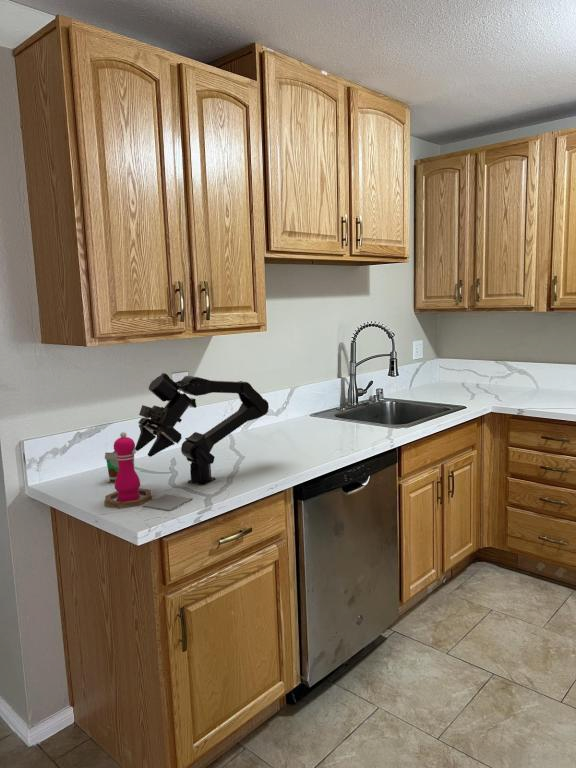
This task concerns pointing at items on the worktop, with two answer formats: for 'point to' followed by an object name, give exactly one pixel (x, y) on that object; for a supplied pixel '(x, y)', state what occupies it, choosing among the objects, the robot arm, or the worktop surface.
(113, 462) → the food container
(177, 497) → the slate mat
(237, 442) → the worktop surface
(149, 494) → the walnut holder ring
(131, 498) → the pepper mill
